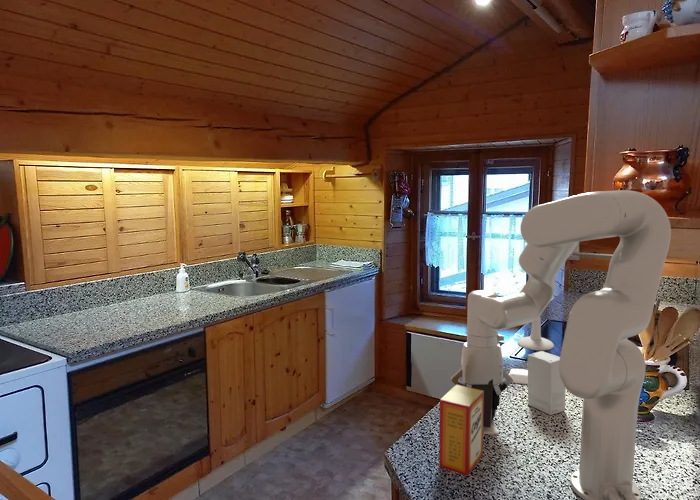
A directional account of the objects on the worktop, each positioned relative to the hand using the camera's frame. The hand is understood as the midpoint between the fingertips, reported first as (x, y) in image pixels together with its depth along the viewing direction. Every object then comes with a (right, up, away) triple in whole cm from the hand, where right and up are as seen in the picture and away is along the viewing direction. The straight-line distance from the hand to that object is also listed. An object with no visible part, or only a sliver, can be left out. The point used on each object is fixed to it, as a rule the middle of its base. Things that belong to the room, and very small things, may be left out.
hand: (481, 406), depth 127 cm
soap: (+21, -1, +29) cm, 36 cm away
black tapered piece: (0, -3, 0) cm, 3 cm away
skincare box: (+20, -3, +9) cm, 22 cm away
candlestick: (+37, +4, +61) cm, 71 cm away
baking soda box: (-9, -7, -16) cm, 19 cm away
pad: (0, -5, +1) cm, 5 cm away
